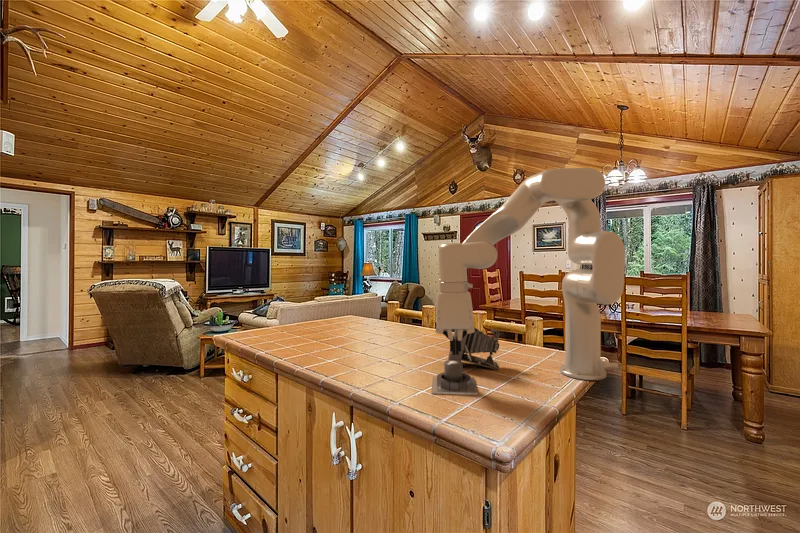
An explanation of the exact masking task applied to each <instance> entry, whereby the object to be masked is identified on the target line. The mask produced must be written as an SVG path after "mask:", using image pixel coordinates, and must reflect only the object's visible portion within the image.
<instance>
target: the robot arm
mask: <svg viewBox="0 0 800 533" xmlns="http://www.w3.org/2000/svg"><path fill="white" fill-rule="evenodd" d="M605 186H606V179H605V176H604V175H603V174H602V172H601V171H600V170H598V169H596V168H593V167H571V168H570V167H566V168H549V169H546V170H543V171H540V172H538V173H536V174H535V173H534V174H533V175H530V176H528V177H527V178H525V179H524V181H522V183H520V185H519V186H518V187H517V188H516V189H514V191H513V193H511V195H510V196H509V197H508V198H507V199H506V201H504V203H503V204H502V205H501V206H500V207H498V209H497V210H496V211H494V212H493V213H492V214H491V215H490V216H489V217H487V218H486V219H485V220H484V221H483V222H482V223H481V224H480V225H479V226H477V227H476V228H475V229H473V231H472V232H471V233H470V234H469V235H468V236H467V237H466V239H465V240H464V241H463V242H462V243H461V242H454V243H453V242H452V243H451V242H450V243H441V244H440V245H439V246H438V274H439V279H438V280H439V292H437V295H436V299H435V300H436V301H435V303H436V304H435V323H436V327H435V333H436V334H439V335H443V336H445V338H447V339H448V340H449V352H450V351H453V355H459V351H461V340H462V338H463V337H464V336H465V335H466V334H470V333H474V332H475V330H474V328H475V326H474V309H473V302H472V296H471V292H470V291H468V290H471V289H473V287H474V286H473V283H470V282H469V281H468V269H479V270H484V269H488V268H490V267H492V266H494V264H496V261H497V259H498V251H497V248H496V247H495V246H494V245H495V244H497V243H498V242H500V241H501V240H503V239H505V238H508V237H509V236H512V235H513V234H515V233H517V232H518V231H520V230H522V229H523V227H525V226H526V224H528V222H529V221H530V220H531V219H532V217H533V216H534V215H535V213H537V212H538V210H539V209H540V208H541V207H542V206H543V205H544V204H545V203H547V202H552V201H555V202H556V203H557V204H558V205H559V206H560V207H561V208H562V210H563V211H564V212H565V214H566V216H567V222H568V229H567V230H568V232H567V233H568V236H567V237H568V239H567V255H568V258H569V260H570V261H571V262H572V263H574V264H577V265H584V266H585V265H586V266H592V269H584V268H581V269H580V268H579V269H574V270H571V271H569V272H567V273H566V274H565V275H564V277H563V279H562V282H561V291H562V296H563V301H564V311H565V312H564V316H565V318H564V319H565V320H564V321H565V323H564V324H565V326H564V328H565V330H564V331H565V332H564V333H565V334H564V335H565V336H564V338H565V340H564V341H565V342H564V343H565V345H564V353H565V355H564V357H565V359H564V360H565V361H564V362H565V363H564V364H562V365H560V367H559V372H560V373H561V374H563V375H564V376H566V377H570V378H574V379H578V380H584V381H600V380H604V379H605V378H607V371H608V370H619V366H620V365H619V363H617V362H610V361H608V360H607V361H606V360H602V359H601V352H602V351H601V350H602V349H601V348H602V347H601V334H602V333H601V328H602V327H601V326H602V324H601V323H602V320H601V311H600V308H599V305H605V306H606V305H612V304H615V303H616V302H618V301H619V300H620V299H621V297H622V294H623V292H624V287H625V264H626V262H625V261H626V250H625V249H626V248H625V245H624V242H623V240H622V239H621V237H620V236H619V235H618V234H617V233H615V232H612V231H609V230H604V231H603V230H602V231H601V214H600V211H599V209H598V207H597V205H596V204H595V203H594V202H593V201H592V200H593V199H595V198H597V197H599V196H600V195H601V194H603V191H604V190H605ZM598 304H599V305H598ZM453 330H454V331H455V330H458V333H457V337H456V339H454V337H453V335H454V333H453ZM455 343H456V353H455Z"/></svg>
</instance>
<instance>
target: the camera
mask: <svg viewBox="0 0 800 533" xmlns="http://www.w3.org/2000/svg"><path fill="white" fill-rule="evenodd" d="M474 330H475V332H474V333H470V334H466V335H465V336H464V337H463V338H462V340H461V351H459V355H453V351H450V350H449V353H448V359H447V361H448V360H457V361H461V362H466V363H469V364H472V365H477V366H480V367H484V368H488V369H491V370H494V371H499V370H500V367H499V365H498V364H499V363H498V362H496V361H495V360H494V359H493V357H492V356H493V355H494V354H497V352H498V351H499V348H500V343H499V340H500V331H499V330H498V329H496V328H495V329H493V328H491V329H490V331H491V334H493V338H492V337H491V336H489V334H486V333H484V332H483V331H480V330H479V329H478V328H476V327H474ZM457 333H458V330H454V332H453V337H454V339H456V337H457ZM455 353H456V343H455ZM477 353H478V354H480V353H489V355H488V356H487V357H486V359H485V358H482V357H478V356H475V355H472V354H477Z"/></svg>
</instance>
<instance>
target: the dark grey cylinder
mask: <svg viewBox="0 0 800 533" xmlns="http://www.w3.org/2000/svg"><path fill="white" fill-rule="evenodd" d="M463 363H464V362H463V361H462V360H461V361H457V360H448V359H447V360H446V361H444V363H443V364H444V365H443V366H444V368H443V369H444V370H443V372H444V379H445V380H448V381H463V373H464V372H463V369H464V368H463Z"/></svg>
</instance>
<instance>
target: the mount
mask: <svg viewBox="0 0 800 533" xmlns="http://www.w3.org/2000/svg"><path fill="white" fill-rule="evenodd" d="M431 379H432V380H431V389H430V390H431V395H455V396H456V395H457V396H460V395H461V396H479V393H478V392H479V391H478V388H477V385H476V384H477V383H476V380H475V377H471V375H469V374H467V373H465V372H463V381H448V380H445V379H444V371H443V372H440V373H438V374H437V375H436V376H432V378H431Z"/></svg>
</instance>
